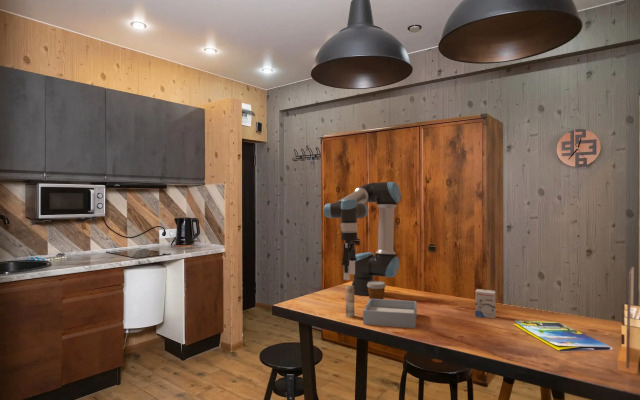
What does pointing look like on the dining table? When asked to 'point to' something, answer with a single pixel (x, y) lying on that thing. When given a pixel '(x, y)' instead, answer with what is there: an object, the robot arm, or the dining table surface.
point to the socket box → (390, 313)
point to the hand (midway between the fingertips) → (349, 276)
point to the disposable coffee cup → (376, 289)
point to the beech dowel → (349, 301)
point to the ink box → (485, 303)
